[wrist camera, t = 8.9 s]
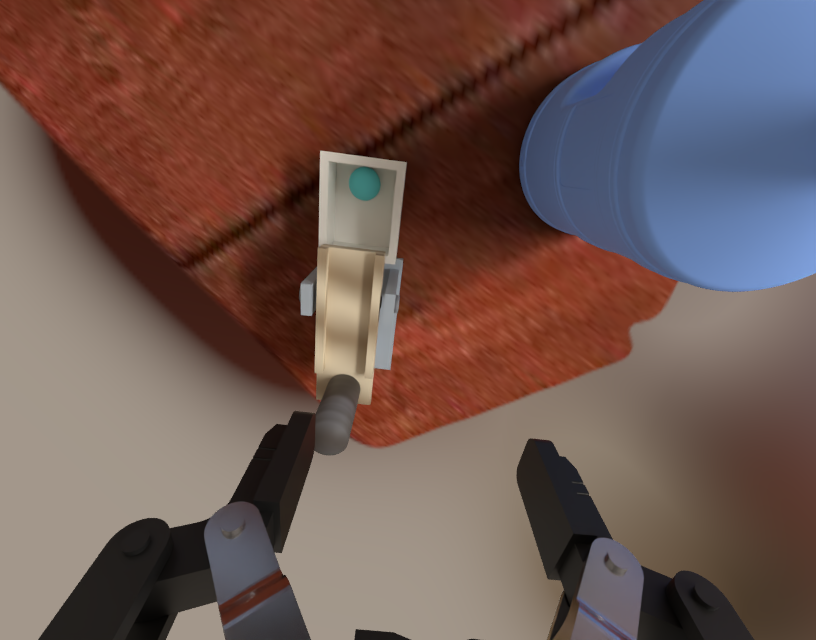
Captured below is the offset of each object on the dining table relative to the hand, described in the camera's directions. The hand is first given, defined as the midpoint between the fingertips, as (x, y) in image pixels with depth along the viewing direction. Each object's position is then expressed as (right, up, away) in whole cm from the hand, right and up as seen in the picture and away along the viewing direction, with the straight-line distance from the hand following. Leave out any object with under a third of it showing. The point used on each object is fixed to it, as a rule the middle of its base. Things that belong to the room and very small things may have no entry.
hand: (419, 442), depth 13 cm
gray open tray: (-5, +17, +25) cm, 31 cm away
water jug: (+19, +22, +23) cm, 37 cm away
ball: (-5, +18, +22) cm, 29 cm away
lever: (-7, +4, +23) cm, 24 cm away
